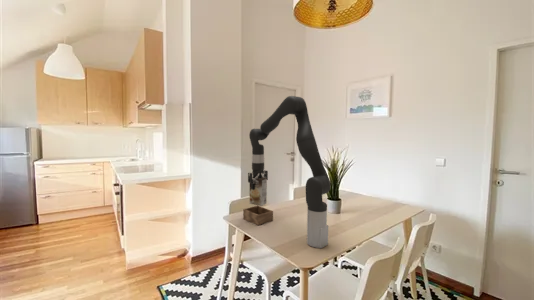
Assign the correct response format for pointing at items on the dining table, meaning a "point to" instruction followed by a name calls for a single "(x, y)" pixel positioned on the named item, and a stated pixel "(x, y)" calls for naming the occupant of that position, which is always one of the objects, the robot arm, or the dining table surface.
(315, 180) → the robot arm
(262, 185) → the coffee box
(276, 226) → the dining table surface
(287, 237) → the dining table surface
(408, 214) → the dining table surface
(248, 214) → the walnut caddy
